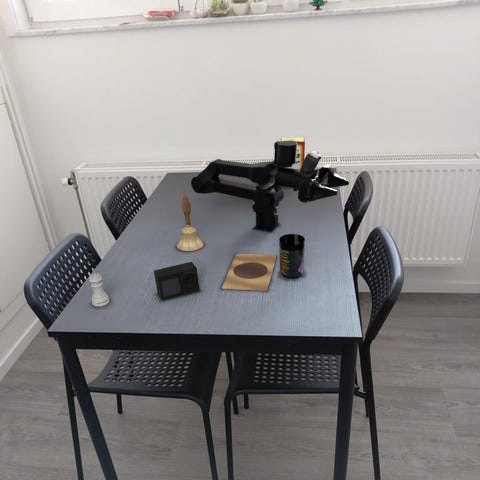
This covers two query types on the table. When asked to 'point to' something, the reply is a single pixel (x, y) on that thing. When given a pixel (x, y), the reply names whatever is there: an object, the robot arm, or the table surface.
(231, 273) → the placemat
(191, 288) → the digital camera
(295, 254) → the supplement container
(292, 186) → the robot arm
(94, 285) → the rook chess piece
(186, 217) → the hand bell
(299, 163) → the baking soda box
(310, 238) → the table surface
